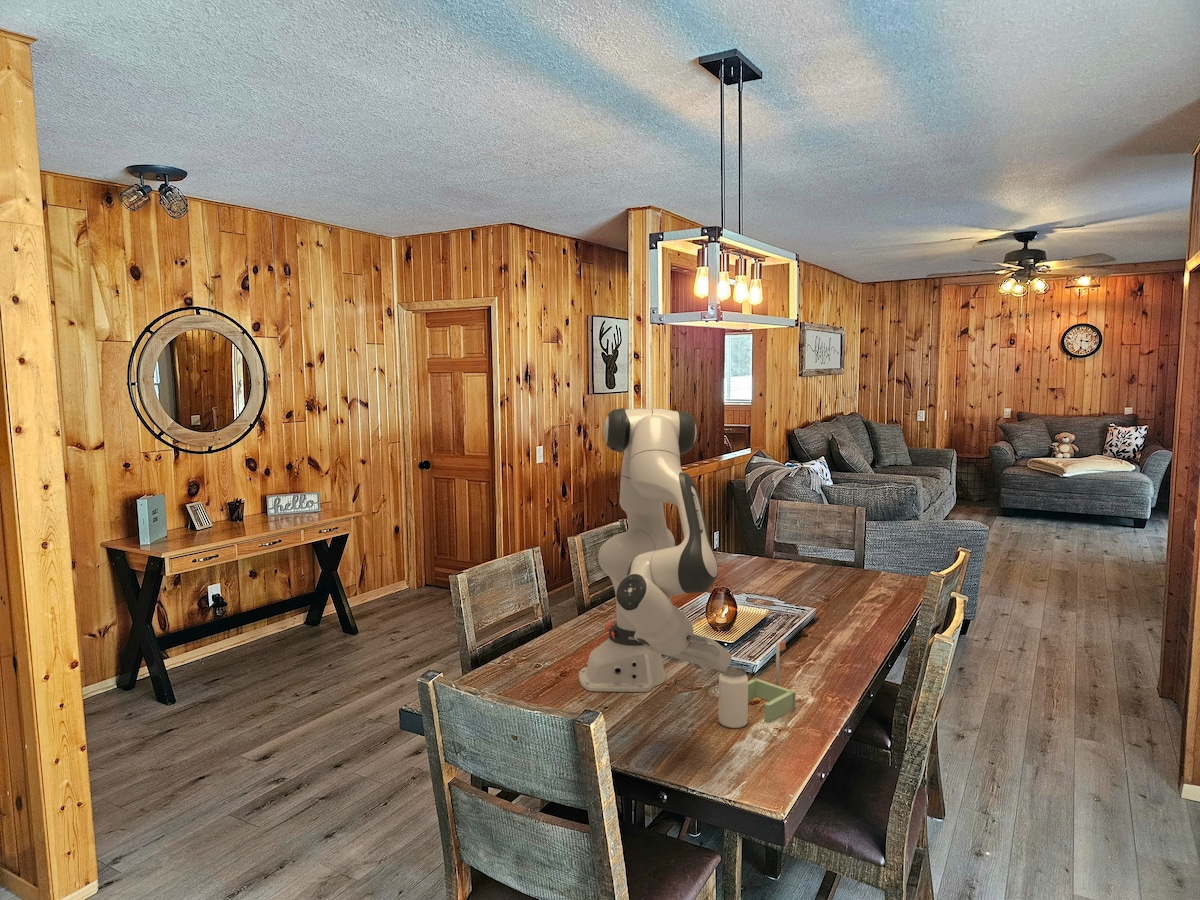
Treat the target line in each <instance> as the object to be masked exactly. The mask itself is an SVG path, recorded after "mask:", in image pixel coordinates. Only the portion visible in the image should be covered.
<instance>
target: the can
mask: <svg viewBox="0 0 1200 900" xmlns="http://www.w3.org/2000/svg"><path fill="white" fill-rule="evenodd" d="M748 678H749V677H748V676H747V671H746V670H745V669H744V668H742V667H739V666H728V668H727V670H726V671H725V672H722V671H720V674H719V675H718V722H719V724H720V725H721V726H723V727H725V728H728V729H741V728H744V727H745V726H747V724H748V719H749V718H748V717H749V716H748V715H749V714H748V711H749V700H748V681H749V679H748Z"/></svg>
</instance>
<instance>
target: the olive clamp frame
mask: <svg viewBox="0 0 1200 900" xmlns="http://www.w3.org/2000/svg"><path fill="white" fill-rule="evenodd" d="M786 642H787V641H786V640H783V641H780V642H776V643H775V684H774V683H773V682H772V683H771V682H768V681H765V680H763V679H759V678H757V677H754V678H752V679H750V680H748V701H750V700H752V699H754V698H759V699H762V700H765V701H768V702H765V703H764V716H763V718H764V722H765V723H771V722H772V721H774V720H776V719H778V718H780V717H782V716H784V715H786V714H787V713H789V712H791V711H793V710H795V709H796V706H797V705H796V703H797V700H796V698H797V692H796V691H795V690H792V689H788V688H786V687H783V686H780V655H781V654H780V652H782V651H784V650H786ZM794 708H795V709H794Z"/></svg>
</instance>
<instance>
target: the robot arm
mask: <svg viewBox="0 0 1200 900" xmlns="http://www.w3.org/2000/svg"><path fill="white" fill-rule="evenodd" d="M602 432H603V433H602V434H603V438H604V441H605V445H606V446H607V447H608V448H609V450H610V451H613V452H616V453H619V454H620V453H621V454H622V453H623V456H622V463H621V473H620V486H619V487H620V488H619V500H618V501H619V502H618V503H619V507H621V510H622V511H624V512H625V514H626V516H627V517H626V518H627V522H628V523H627V524H628V529H627V530H626V531H623V532H620V533H617V534H615V535H613V536H612V537H610V538H609V539H607V540H606V541H605V542H604V543H602V545H601V546H600V548H599V550H598V556H597V557H598V563H599V566H600V568H601V570H602V571H603V572H604V573H605V575H607V576H608V577H609V578H610V580H611V583H612V586H613V590H614V594H615V604H616V605H615V606H616V608H615V609H616V623H614V624H613V622H610V621H609V622H607V623H606V624H605V623H604V628H605V630H606V632H608V638H607V639H606V640H604V641H603V642H602V643H601V644H600V645H598V646H597V647H596V648H594V649H592V650H591V652H590V653H589V656H588V660H587V666H585V667H582V668H581V669H580V670H579V671H578V672H579V673H578V680H579V684H580V685H581V687H582V688H583V689H585V690H587V691H588V692H611V693H612V692H614V693H615V692H617V693H618V692H619V693H621V692H622V693H623V692H629V693H631V692H632V693H633V692H635V693H636V692H637V693H638V692H639V693H647V692H650V691H651V690H652V689H653V688H654V687H656V686H659V685H661V684H662V683H664V682H665V681H666V680H667V675H666V671H665V667H664V664H663V658H662V655H663V656H666V657H670V658H674V659H677V660H681V661H684V662H686V663H688V664H690V665H692V666H693V667H694V668H696V669H699V670H703V671H707V670H708V669H711V670H714V671H719V672H721V671H722V672H725V671H726V670H727V668H728V667H730V664H731V662H732V660H733V659H732V657H733V656H732V655H731V653H730V652H729V651H728V650H727V649H725V648H724V646H722V645H721V644H720V643H719V642H717V641H716V640H714V639H712V638H710V637H707V636H702V635H698V634H695V633H694V626H693V624H692V622H691V620H689V618H687V616H686V615H685V614H684V613H683V612H682V611H681V610H680V609H679V608H678V607H677V606H675V605H674V604H672V597H674V596H681V595H685V594H700V593H706V592H708V591H709V590H710V589H711V588H712V586H713V585H714V584H715V582H716V580H717V578H718V575H719V565H718V563H717V562H718V561H717V558H716V555H715V552H714V549H713V547H712V544H711V541H710V536H709V531H708V527H707V524H706V518H705V514H704V509H703V507H702V501H701V498H700V494H699V491H698V487H697V485H696V483H695V480H694V479H693V478H692V477H691V476H690V475H689V474H688V473H686V472H684V471H683V470H682V466H681V455H684V454H687V453H689V452H690V451H691V450H692V449H693V447H694V444H695V442H696V440H697V435H698V434H697V433H698V431H697V424H696V422H695V418H694V417H693V415H692V414H691V413H690V412H687V411H684V410H679V409H678V410H677V411H676V410H671V409H664V408H656V407H651V408H629V409H628V408H627V409H625V407H622V408H615V409H612V410H610V412H609V413H608V414H607V417H606V418H605V420H604V423H603V428H602ZM665 503H666V504H670V505H674V506H675V505H676V507H677V510H678V514H679V519H680V525H681V529H682V533H683V539H682V541H681V543H679V544H678V545H676V541H675V540H676V539H675V538H674V534H673V533H672V531H671V530H670V529H669V528H668V527H667V526H668V525H667V522H666V516H665V509H664V504H665Z"/></svg>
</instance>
